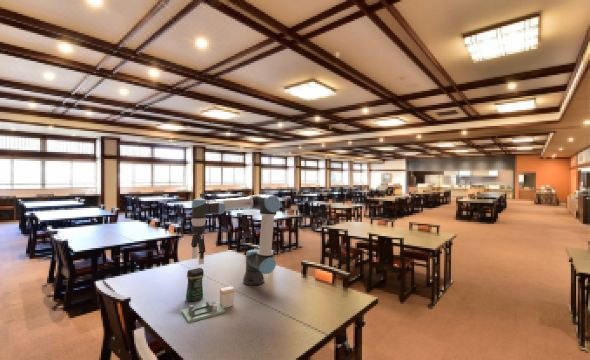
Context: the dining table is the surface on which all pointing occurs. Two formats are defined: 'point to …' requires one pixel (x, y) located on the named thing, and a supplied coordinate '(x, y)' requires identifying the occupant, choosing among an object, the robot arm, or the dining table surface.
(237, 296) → the dining table surface
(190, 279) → the coffee jar
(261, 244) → the robot arm
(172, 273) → the dining table surface
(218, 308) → the board
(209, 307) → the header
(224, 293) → the plug
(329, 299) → the dining table surface
